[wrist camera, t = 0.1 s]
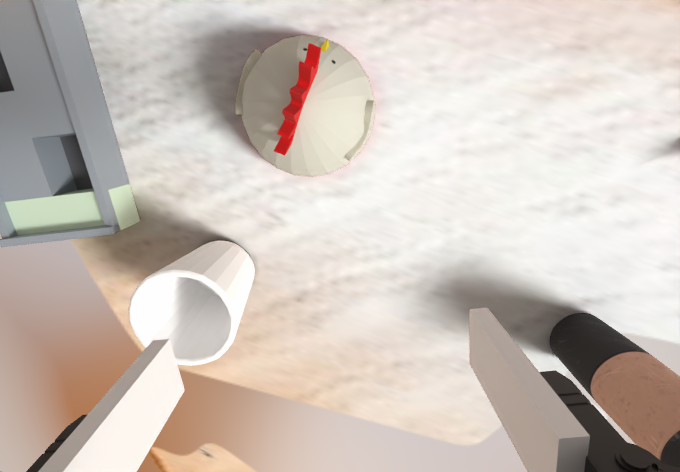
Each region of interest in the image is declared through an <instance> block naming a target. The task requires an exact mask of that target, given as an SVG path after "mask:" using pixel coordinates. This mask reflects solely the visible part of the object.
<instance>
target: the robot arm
mask: <svg viewBox="0 0 680 472" xmlns="http://www.w3.org/2000/svg"><path fill="white" fill-rule="evenodd" d="M469 336H470V365H471V367H472V369H473V371H474V373H475V374H476V376H477V378H478V380H479V382H480V384H481V386H482V387H483V389H484V391H485V393H486V395H487V397H488V399H489V400H490V402H491V404H492V406H493V408H494V410H495V412H496V413H497V415H498V417H499V419H500V421H501V423H502V425H503V427H504V428H505V430H506V432H507V434H508V436H509V438H510V439H511V441H512V443H513V445H514V447H515V449H516V451H517V453H518V454H519V456H520V458H521V460H522V462H523V464H524V465H525V468H526V469H527V471H528V472H680V468H679V467H673V466H669V465H665V464H662V462H661V461H660V460H659V459H658V458H657V457H655V456H654V455H653V454H651V453H650V452H649V451H647V450H645V449H643V448H641V447H639V446H637V445H634V444H630V443H627V442H626V441H625V440H624V439H623V438H622V437H621V436H620V435H619V433H618V432H617V431H616V430H615V429H614V428H613V427H612V426H611V425H610V423H609V422H608V421H607V420H606V419H605V418H604V417H603V416H602V414H601V413H600V412H599V411H598V410H597V409H596V408H595V407H594V406H593V405H591V403H590V401H589V400H588V399H587V398H586V397H585V396H584V395H582V392H581V391H580V390H579V389H578V388H577V387H576V385H575V384H574V383H573V382H572V381H571V380H570V379H568V378H566V377H565V376H563V375H562V374H560V373H558V372H557V371H546V372H539V371H538V370H537V369H536V368H535V366H534V365H533V364H532V363H531V361H530V360H529V359H528V358H527V356H526V355H525V354H524V353H523V351H522V350H521V349H520V348H519V346H518V345H517V344H516V343H515V341H514V340H513V339H512V338H511V336H510V335H509V334H508V333H507V331H506V330H505V329H504V328H503V326H502V325H501V324H500V323H499V321H498V320H497V319H496V318H495V316H494V315H493V314H492V313H491V311H490V310H489V309H488V308H487V307H486V308H476V309H469ZM183 392H184V386H183V383H182V379H181V376H180V373H179V369H178V366H177V362H176V359H175V355H174V352H173V349H172V345H171V342H170V339H163V340H153V341H152V342H151V343H150V344H149V345H148V347H147V348H146V349H145V350H144V351H143V352H142V353H141V355H140V356H139V357H138V358H137V359H136V360H135V361H134V363H133V364H132V365H131V366H130V367H129V368H128V369H127V371H126V372H125V373H124V374H123V375H122V376H121V377H120V379H119V380H118V381H117V382H116V383H115V384H114V385H113V387H112V388H111V389H110V390H109V391H108V392H107V394H106V395H105V396H104V397H103V398H102V399H101V401H99V403H98V404H97V405H96V406H95V407H94V408H93V409H92V411H91V412H90V413H89V414H88V415H82V416H81V417H80V418H78V419H77V420H76V421H74V422H73V423H72V424H70V425H69V426H68V427H66V429H65V430H64V431H63V432H62V433H61V434H60V435H59V436H58V438H57V439H56V440H55V442H54V443H52V444H51V445H50V446H49V447H48V449H47V450H46V451H45V453H44V454H42V455H41V456H40V457H39V458H38V459H37V461H36V462H35V463H34V464H33V465H32V466H31V467H30V468H29V469H28V471H27V472H137V470H138V469H139V467H140V465H141V463H142V462H143V460H144V458H145V457H146V455H147V453H148V452H149V450H150V448H151V446H152V445H153V443H154V441H155V440H156V438H157V436H158V435H159V433H160V431H161V429H162V428H163V426H164V424H165V423H166V421H167V419H168V418H169V416H170V414H171V413H172V411H173V409H174V407H175V406H176V404H177V402H178V401H179V399H180V397H181V396H182V394H183Z"/></svg>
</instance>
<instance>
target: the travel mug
mask: <svg viewBox="0 0 680 472" xmlns="http://www.w3.org/2000/svg"><path fill="white" fill-rule="evenodd" d="M550 345H551V348H552V350H553V352H554V353H555V354H556V356H557V357H558V358H559V359H560V360H561V362H562V363H563V364H564V365H565V366H566V367H567V369H568V370H569V371H570V372H571V373H572V374H573V376H574V377H575V378H576V379H577V380H578V381H579V383H580V384H581V385H582V386H583V387H584V388H585V389H586V391H587V392H588V393H589V394H590V395H591V396H592V398H593V399H594V400H595V401H596V402H597V403H598V404H599V405H600V406H601V407H602V409H603V410H604V411H605V412H606V413H607V414H608V415H609V416H610V417H611V418H612V419H613V420H614V421H615V422H616V423H617V425H618V426H619V427H620V428H621V429H622V430H623V431H624V432H625V433H626V434H627V435H628V436H629V437H630V438H631V439H632V441H633V442H634V443H635V444H636V445H637V446H639V447H641V448H643V449H645V450H647V451H649V452H650V453H651V454H653V455H654V456H655V457H657V458H658V459H659V460H660V461H661V462H662V464H665V465H669V466H673V467H679V468H680V377H679V376H678V375H677V374H676V373H674V372H673V371H672V370H670V369H669V368H668V367H666V366H665V365H664V364H662V363H661V362H660V361H658V360H657V359H656V358H654V357H653V356H652V355H650V354H649V353H647V352H646V351H645V350H643V349H642V348H640V347H639V346H637V345H636V344H635V343H633V342H631V341H630V340H629V339H627V338H626V337H624V336H623V335H622V334H620V333H619V332H617V331H616V330H614V329H613V328H612V327H610V326H609V325H607V324H606V323H604V322H603V321H601V320H600V319H598V318H597V317H595V316H593V315H590V314H585V313H579V314H574V315H570V316H568V317H566V318H564V319H563V320H561V321H560V322H559V323H558V324H557V325H556V326H555V327H554V329H553V331H552V333H551V336H550Z"/></svg>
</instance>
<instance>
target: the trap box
mask: <svg viewBox="0 0 680 472" xmlns="http://www.w3.org/2000/svg"><path fill="white" fill-rule="evenodd" d="M138 222H140V218H139V215H138V211H137V208H136V204H135V201H134V197H133V194H132V191H131V187H130V184H129V180H128V177H127V173H126V170H125V166H124V163H123V160H122V156H121V153H120V149H119V146H118V142H117V139H116V135H115V132H114V129H113V125H112V122H111V118H110V115H109V111H108V108H107V104H106V101H105V98H104V94H103V91H102V87H101V84H100V80H99V77H98V73H97V70H96V67H95V63H94V60H93V56H92V53H91V49H90V46H89V42H88V39H87V35H86V32H85V29H84V25H83V22H82V18H81V15H80V11H79V8H78V4H77V1H76V0H0V234H1V237H2V239H0V246H1V247H7V246H16V245H26V244H34V243H43V242H52V241H60V240H70V239H78V238H87V237H96V236H105V235H113V234H115V233H117V232H119V231H121V230H123V229H125V228H127V227H129V226H131V225H134V224H136V223H138Z"/></svg>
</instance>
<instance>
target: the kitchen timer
mask: <svg viewBox="0 0 680 472" xmlns="http://www.w3.org/2000/svg"><path fill="white" fill-rule="evenodd" d="M235 112H236V114H237V115H242V120H243V124H244V127H245V129H246V132H247V134H248V137H249V139H250V141H251V143H252V144H253V145H254V147H255V148H256V149H257V151H258V152H259V153H260V155H261V156H262V157H263V158H265V159H266V160H267V161H268V162H270V163H271V164H272V165H274V166H275V167H276V168H278V169H281V170H283V171H286V172H288V173H290V174H293V175H298V176H308V177H315V176H320V175H325V174H330V173H332V172H334V171H336V170H338V169H340V168H342V167H344V166H346V165H347V164H348V163H349V162H350V161H351V160H353V159H354V158H355V157H356V156H357V155H358V154H359V153H360V152H361V150H362V148H363V146H364V145H365V143H366V141H367V140H368V138H369V136H370V133H371V130H372V127H373V123H374V117H375V101H374V95H373V91H372V88H371V84H370V81H369V77H368V76H367V74H366V72H365V71H364V69H363V68H362V66H361V64H360V63H359V61H358V60H357V59H356V58H355V57H354V56H353V55H352V54H351V53H349V52H348V51H347V50H346V49H345V48H344V47H343V46H341V45H339V44H337V43H335V42H332V41H330V40H328V39H326V38H323V37H317V36H308V35H300V36H295V37H290V38H286V39H282V40H281V41H279V42H277V43H275V44H274V45H272V46H270V47H269V48H267V49H265V50H264V52H263V53H262V54H261V53H260V52H259V51H258V49H255V50H254V51H253V52H252V53H251V54H250V56H249V57H248V59H247V61H246V63H245V65H244V67H243V71H242V75H241V78H240V82H239V86H238V91H237V96H236V103H235Z"/></svg>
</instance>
